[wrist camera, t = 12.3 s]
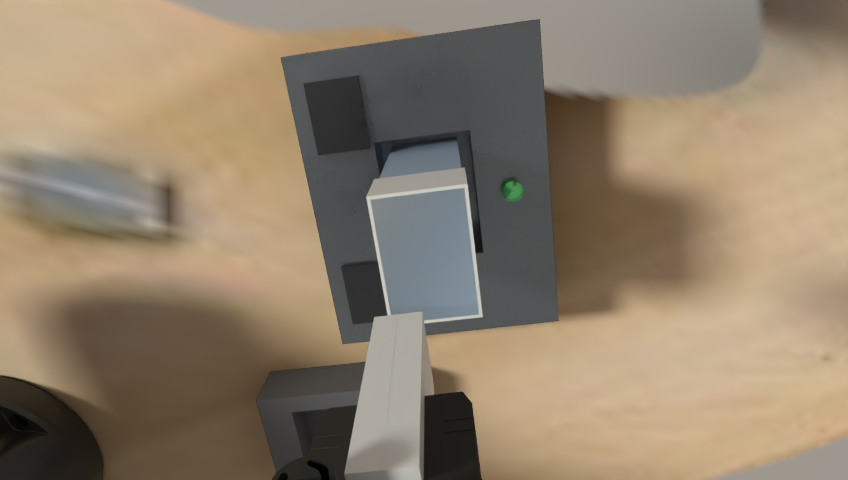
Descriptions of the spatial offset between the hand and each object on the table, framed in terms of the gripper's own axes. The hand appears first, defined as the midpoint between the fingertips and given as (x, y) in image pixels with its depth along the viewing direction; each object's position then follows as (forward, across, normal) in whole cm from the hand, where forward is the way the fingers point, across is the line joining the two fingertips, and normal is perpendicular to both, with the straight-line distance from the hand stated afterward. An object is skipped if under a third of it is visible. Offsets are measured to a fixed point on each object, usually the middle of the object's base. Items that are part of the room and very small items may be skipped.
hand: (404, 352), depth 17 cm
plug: (+20, +1, 0) cm, 20 cm away
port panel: (+21, +1, 0) cm, 21 cm away
